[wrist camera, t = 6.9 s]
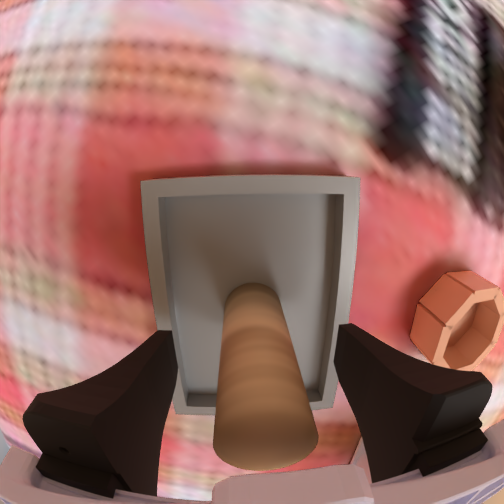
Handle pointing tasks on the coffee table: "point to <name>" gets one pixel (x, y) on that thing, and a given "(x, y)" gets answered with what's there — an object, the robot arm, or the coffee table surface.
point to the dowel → (260, 386)
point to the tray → (250, 268)
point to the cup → (458, 320)
